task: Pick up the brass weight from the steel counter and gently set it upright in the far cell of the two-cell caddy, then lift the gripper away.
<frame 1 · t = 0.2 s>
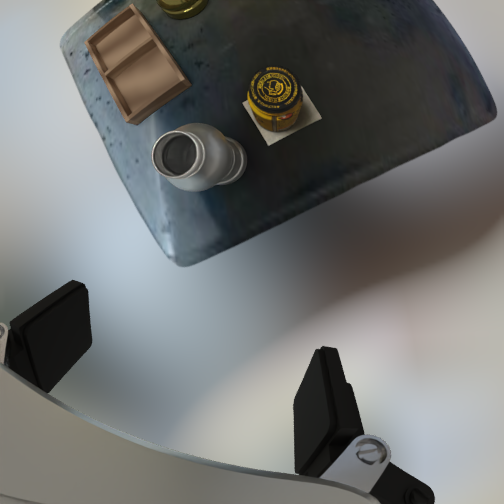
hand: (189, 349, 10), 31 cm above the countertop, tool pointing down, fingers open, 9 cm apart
plastic bottle: (225, 161, 38), on the countertop
brass weight: (186, 4, 31), on the countertop
caddy: (137, 62, 34), on the countertop
condiment: (281, 110, 35), on the countertop
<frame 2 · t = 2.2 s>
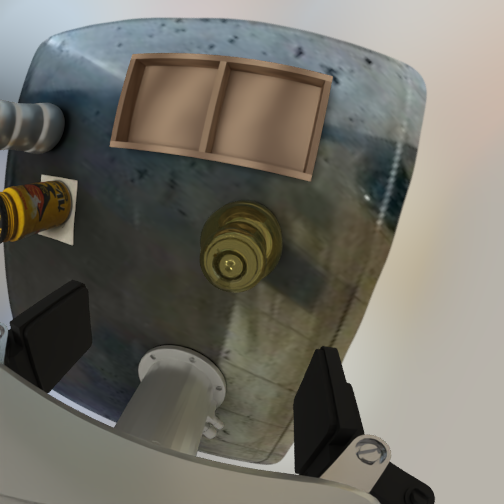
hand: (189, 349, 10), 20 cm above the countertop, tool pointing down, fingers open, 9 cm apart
plastic bottle: (55, 129, 27), on the countertop
brass weight: (245, 234, 29), on the countertop
caddy: (219, 112, 26), on the countertop
condiment: (57, 208, 31), on the countertop
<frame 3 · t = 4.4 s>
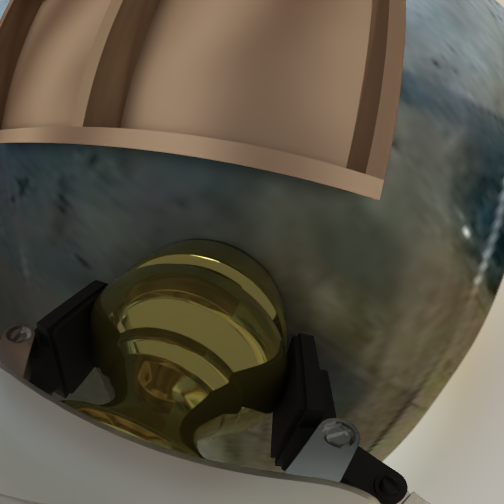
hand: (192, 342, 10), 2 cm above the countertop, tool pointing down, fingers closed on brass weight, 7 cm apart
brass weight: (206, 312, 13), on the countertop, touching gripper
caddy: (148, 44, 9), on the countertop
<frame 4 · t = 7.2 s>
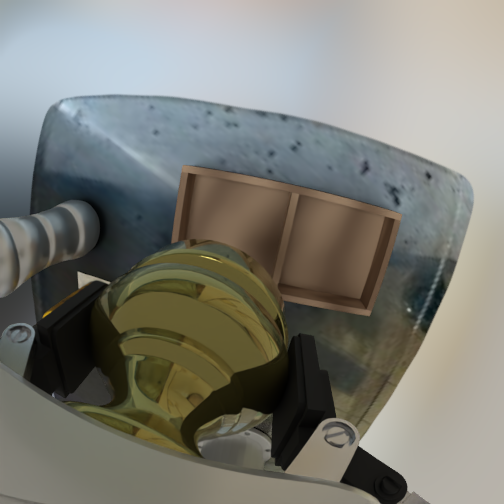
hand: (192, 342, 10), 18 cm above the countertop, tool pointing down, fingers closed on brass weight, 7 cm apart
plastic bottle: (87, 224, 29), on the countertop
brass weight: (207, 311, 13), point 16 cm above the countertop, touching gripper
caddy: (283, 236, 28), on the countertop
condiment: (101, 307, 32), on the countertop
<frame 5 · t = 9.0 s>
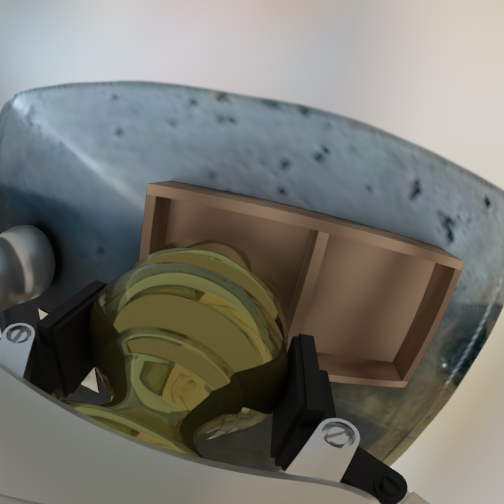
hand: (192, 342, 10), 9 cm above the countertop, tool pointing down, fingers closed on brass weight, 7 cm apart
plastic bottle: (42, 253, 21), on the countertop
brass weight: (206, 311, 13), point 7 cm above the countertop, touching gripper
caddy: (298, 284, 19), on the countertop
condiment: (69, 351, 24), on the countertop
when the fingers open (5 cm above the countertop, at t = 10.4 s): brass weight drops 1 cm, resting on caddy.
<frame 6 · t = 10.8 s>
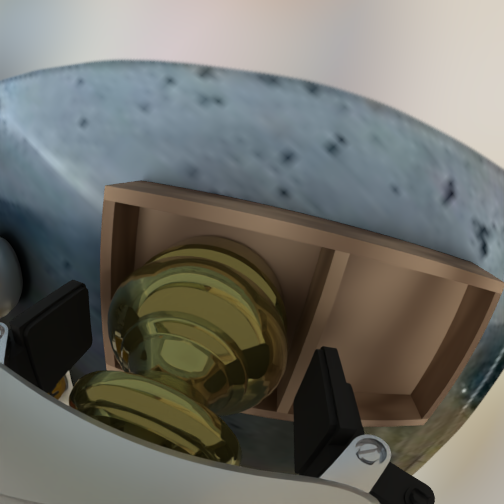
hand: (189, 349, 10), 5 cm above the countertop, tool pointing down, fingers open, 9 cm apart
plastic bottle: (11, 265, 17), on the countertop
brass weight: (213, 302, 14), point 1 cm above the countertop, touching caddy
caddy: (303, 311, 15), on the countertop
condiment: (47, 371, 20), on the countertop
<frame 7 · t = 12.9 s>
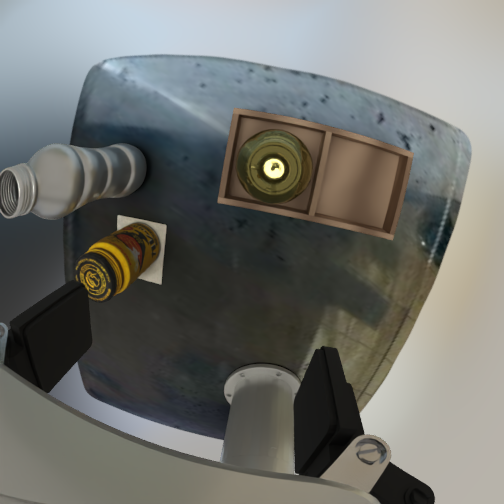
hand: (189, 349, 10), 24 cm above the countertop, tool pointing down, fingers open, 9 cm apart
plastic bottle: (130, 168, 33), on the countertop
brass weight: (274, 165, 30), point 1 cm above the countertop, touching caddy
caddy: (316, 171, 31), on the countertop
condiment: (140, 249, 36), on the countertop
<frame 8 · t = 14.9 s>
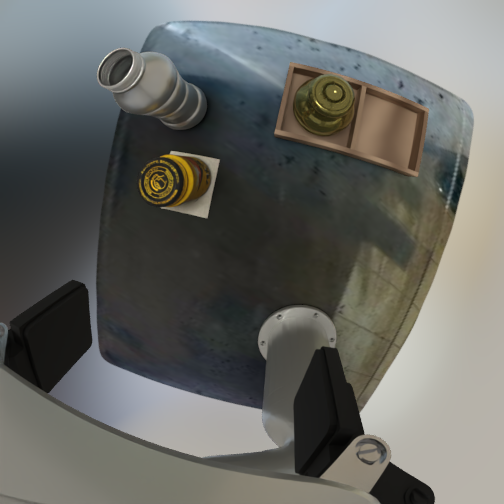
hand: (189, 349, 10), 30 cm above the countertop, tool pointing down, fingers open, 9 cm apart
plastic bottle: (188, 110, 36), on the countertop
brass weight: (319, 111, 33), point 1 cm above the countertop, touching caddy
caddy: (352, 121, 34), on the countertop
condiment: (189, 183, 39), on the countertop
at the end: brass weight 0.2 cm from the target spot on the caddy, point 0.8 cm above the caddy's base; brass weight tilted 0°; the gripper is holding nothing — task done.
